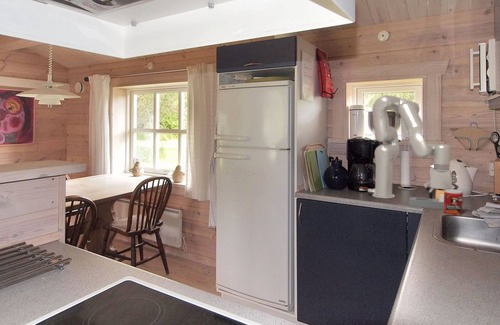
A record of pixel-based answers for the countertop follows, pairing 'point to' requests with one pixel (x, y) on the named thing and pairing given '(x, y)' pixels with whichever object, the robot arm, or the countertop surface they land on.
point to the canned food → (453, 201)
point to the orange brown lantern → (438, 192)
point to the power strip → (427, 202)
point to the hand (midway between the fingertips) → (440, 199)
